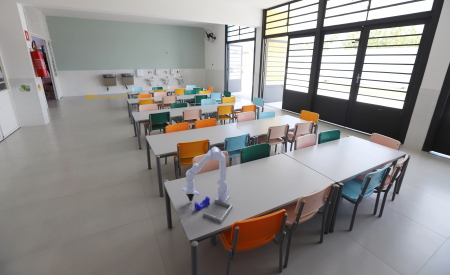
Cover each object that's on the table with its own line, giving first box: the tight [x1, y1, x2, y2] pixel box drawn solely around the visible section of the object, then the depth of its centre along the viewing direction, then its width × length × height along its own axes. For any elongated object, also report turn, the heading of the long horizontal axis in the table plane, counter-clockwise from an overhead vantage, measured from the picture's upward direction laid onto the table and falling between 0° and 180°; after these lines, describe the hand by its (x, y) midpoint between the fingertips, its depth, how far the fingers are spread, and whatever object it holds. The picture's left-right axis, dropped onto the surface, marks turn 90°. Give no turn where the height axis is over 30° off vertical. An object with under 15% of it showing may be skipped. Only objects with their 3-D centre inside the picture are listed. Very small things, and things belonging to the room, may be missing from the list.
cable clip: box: [193, 196, 211, 212], centre depth 166 cm, size 12×4×6 cm, turn 134°
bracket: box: [202, 198, 233, 223], centre depth 161 cm, size 18×14×2 cm
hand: (191, 200), depth 171 cm, fingers closed
